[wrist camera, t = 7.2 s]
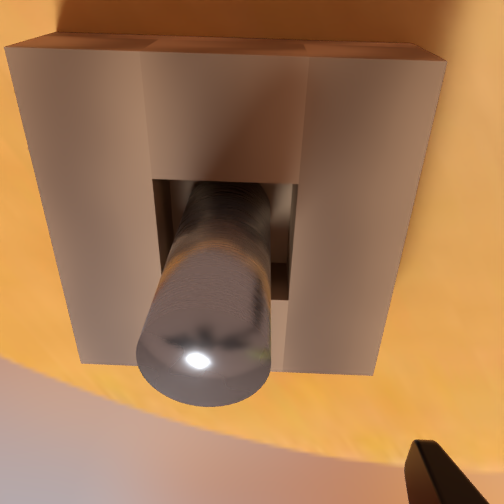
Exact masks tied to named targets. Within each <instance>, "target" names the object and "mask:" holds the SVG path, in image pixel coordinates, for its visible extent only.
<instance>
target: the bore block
mask: <svg viewBox="0 0 504 504" xmlns="http://www.w3.org/2000/svg"><path fill="white" fill-rule="evenodd" d="M4 49H5V53H6V57H7V61H8V66H9V70H10V74H11V78H12V82H13V86H14V90H15V94H16V98H17V103H18V107H19V111H20V115H21V119H22V123H23V127H24V131H25V135H26V139H27V144H28V148H29V152H30V156H31V160H32V164H33V168H34V172H35V176H36V180H37V185H38V189H39V193H40V197H41V201H42V205H43V209H44V213H45V217H46V221H47V226H48V230H49V234H50V238H51V242H52V246H53V250H54V254H55V258H56V262H57V267H58V271H59V275H60V279H61V283H62V287H63V291H64V295H65V299H66V303H67V308H68V312H69V316H70V320H71V324H72V328H73V332H74V336H75V340H76V344H77V349H78V353H79V357H80V361H81V363H82V364H106V365H129V366H138V364H137V360H136V347H137V343H138V340H139V337H140V335H141V332H142V329H143V326H144V323H145V320H146V318H147V315H148V312H149V309H150V306H151V303H152V301H153V298H154V295H155V292H156V289H157V286H158V283H159V281H160V278H161V275H162V272H163V269H164V266H165V264H166V261H167V258H168V255H169V252H170V249H171V247H172V244H173V241H174V238H175V235H176V232H177V230H178V227H179V224H180V221H181V218H182V215H183V213H184V210H185V207H186V204H187V201H188V198H189V196H190V193H191V191H192V189H193V188H194V186H195V185H196V184H197V183H198V182H199V181H225V182H252V183H259V184H260V185H261V186H262V187H263V189H264V190H265V192H266V194H267V196H268V198H269V202H270V242H271V369H270V371H272V372H296V373H320V374H344V375H367V376H373V373H374V369H375V365H376V360H377V356H378V352H379V348H380V344H381V339H382V335H383V331H384V327H385V323H386V318H387V314H388V310H389V306H390V301H391V297H392V293H393V289H394V285H395V280H396V276H397V272H398V268H399V264H400V259H401V255H402V251H403V247H404V242H405V238H406V234H407V230H408V226H409V221H410V217H411V213H412V209H413V204H414V200H415V196H416V192H417V188H418V183H419V179H420V175H421V171H422V167H423V162H424V158H425V154H426V150H427V145H428V141H429V137H430V133H431V129H432V124H433V120H434V116H435V112H436V108H437V103H438V99H439V95H440V91H441V86H442V82H443V78H444V74H445V70H446V65H447V61H446V60H444V59H442V58H440V57H438V56H436V55H434V54H432V53H430V52H428V51H426V50H424V49H422V48H421V47H419V46H417V45H415V44H413V43H385V42H354V41H323V40H291V39H260V38H228V37H197V36H165V35H134V34H103V33H71V32H54V33H50V34H47V35H43V36H40V37H37V38H33V39H30V40H26V41H23V42H19V43H16V44H12V45H9V46H5V47H4Z"/></svg>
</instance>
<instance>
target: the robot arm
mask: <svg viewBox="0 0 504 504" xmlns="http://www.w3.org/2000/svg"><path fill="white" fill-rule="evenodd" d="M404 473H405V481H406V487H407V493H408V500H409V504H489V503H488V502H487V500H486V499H485V498H484V497H483V496H482V495H481V494H480V492H479V491H478V490H477V489H476V488H475V486H474V485H473V484H472V483H471V482H470V480H469V479H468V478H467V477H466V476H465V475H464V473H463V472H462V471H461V470H460V469H459V467H458V466H457V465H456V464H455V463H454V462H453V460H452V459H451V458H450V457H449V456H448V454H447V453H446V452H445V451H444V450H443V449H442V447H441V446H440V445H439V444H438V443H437V442H435V441H433V440H414V441H413V442H412V444H411V447H410V450H409V453H408V456H407V459H406V462H405V467H404Z"/></svg>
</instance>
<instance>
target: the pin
mask: <svg viewBox="0 0 504 504" xmlns="http://www.w3.org/2000/svg"><path fill="white" fill-rule="evenodd" d="M136 360H137V364H138V367H139V369H140V371H141V373H142V375H143V376H144V378H145V379H146V380H147V382H148V383H149V384H150V385H151V386H152V387H154V388H155V389H156V390H157V391H159V392H160V393H162V394H164V395H165V396H167V397H169V398H171V399H173V400H176V401H179V402H181V403H185V404H189V405H194V406H203V407H216V406H224V405H230V404H233V403H237V402H239V401H242V400H244V399H246V398H248V397H250V396H251V395H253V394H254V393H255V392H257V391H258V390H259V389H260V388H261V387H262V385H263V384H264V383H265V381H266V380H267V378H268V376H269V373H270V369H271V242H270V202H269V198H268V196H267V194H266V192H265V190H264V189H263V187H262V186H261V185H260V184H259V183H252V182H225V181H199V182H198V183H197V184H196V185H195V186H194V188H193V189H192V191H191V193H190V196H189V198H188V201H187V204H186V207H185V210H184V213H183V215H182V218H181V221H180V224H179V227H178V230H177V232H176V235H175V238H174V241H173V244H172V247H171V249H170V252H169V255H168V258H167V261H166V264H165V266H164V269H163V272H162V275H161V278H160V281H159V283H158V286H157V289H156V292H155V295H154V298H153V301H152V303H151V306H150V309H149V312H148V315H147V318H146V320H145V323H144V326H143V329H142V332H141V335H140V337H139V340H138V343H137V347H136Z"/></svg>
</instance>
